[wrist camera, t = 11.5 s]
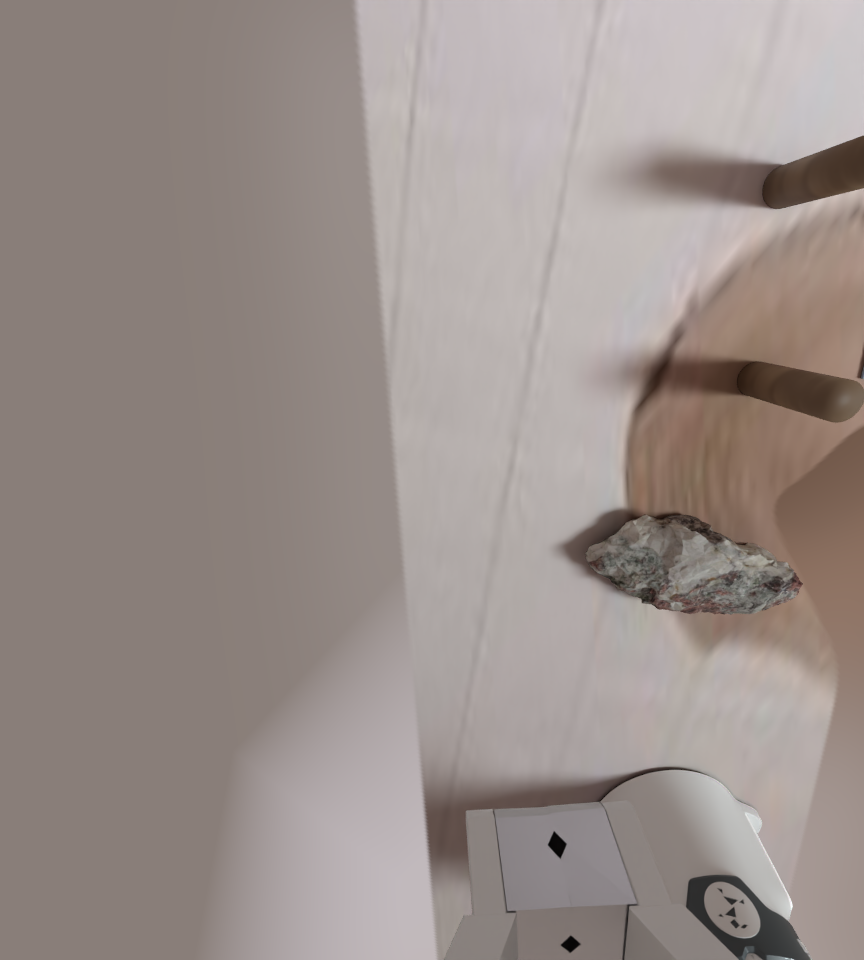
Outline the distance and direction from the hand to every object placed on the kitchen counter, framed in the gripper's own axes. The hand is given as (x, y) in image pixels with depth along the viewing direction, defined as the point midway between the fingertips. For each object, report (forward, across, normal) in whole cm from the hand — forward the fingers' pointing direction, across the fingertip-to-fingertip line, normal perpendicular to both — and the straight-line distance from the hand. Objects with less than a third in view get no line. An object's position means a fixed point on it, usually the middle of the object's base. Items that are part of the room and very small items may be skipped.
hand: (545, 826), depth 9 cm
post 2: (+29, -21, -2) cm, 36 cm away
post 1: (+29, -21, -14) cm, 39 cm away
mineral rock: (+30, -17, +12) cm, 36 cm away
